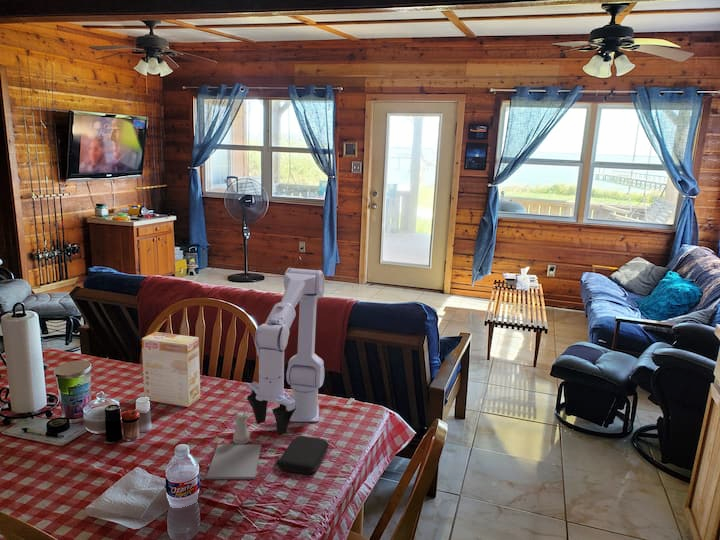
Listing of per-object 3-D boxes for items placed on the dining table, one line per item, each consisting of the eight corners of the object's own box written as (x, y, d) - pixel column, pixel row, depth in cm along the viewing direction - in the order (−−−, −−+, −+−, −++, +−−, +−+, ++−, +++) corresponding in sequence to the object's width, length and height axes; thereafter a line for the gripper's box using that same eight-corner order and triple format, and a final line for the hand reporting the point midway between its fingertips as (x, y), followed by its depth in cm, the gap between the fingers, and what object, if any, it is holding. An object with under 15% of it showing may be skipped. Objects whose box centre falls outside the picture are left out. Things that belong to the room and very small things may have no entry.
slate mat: (217, 446, 139) (217, 444, 139) (261, 446, 140) (261, 444, 139) (206, 479, 125) (206, 476, 125) (254, 479, 126) (254, 476, 126)
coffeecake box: (201, 397, 165) (199, 336, 161) (188, 407, 159) (186, 344, 154) (157, 390, 169) (155, 330, 165) (143, 400, 162) (140, 338, 158)
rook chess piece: (246, 446, 140) (245, 417, 138) (229, 443, 140) (229, 415, 139) (252, 437, 144) (252, 409, 142) (237, 435, 145) (236, 407, 143)
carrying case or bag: (291, 441, 143) (270, 473, 129) (291, 431, 143) (270, 461, 128) (330, 448, 141) (313, 480, 127) (331, 437, 140) (313, 468, 126)
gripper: (238, 370, 127) (238, 423, 130) (278, 389, 118) (278, 445, 121) (261, 362, 133) (261, 413, 136) (302, 380, 123) (301, 434, 126)
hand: (271, 428), depth 129 cm, fingers open, 7 cm apart
